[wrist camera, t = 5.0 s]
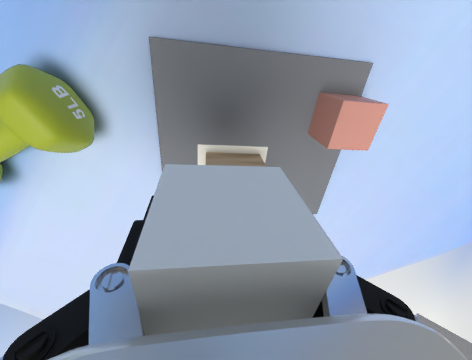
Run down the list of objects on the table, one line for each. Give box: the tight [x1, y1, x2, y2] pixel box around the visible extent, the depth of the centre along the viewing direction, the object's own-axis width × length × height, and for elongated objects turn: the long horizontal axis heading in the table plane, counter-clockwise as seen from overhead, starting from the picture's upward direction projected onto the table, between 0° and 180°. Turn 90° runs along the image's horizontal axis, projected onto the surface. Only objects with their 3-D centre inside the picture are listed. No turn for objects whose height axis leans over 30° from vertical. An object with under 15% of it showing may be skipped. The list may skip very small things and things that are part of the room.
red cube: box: [308, 92, 388, 150], centre depth 24 cm, size 5×5×5 cm
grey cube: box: [128, 164, 343, 336], centre depth 10 cm, size 6×6×6 cm
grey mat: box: [149, 37, 373, 214], centre depth 27 cm, size 22×24×1 cm
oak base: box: [205, 152, 267, 167], centre depth 27 cm, size 7×7×4 cm
